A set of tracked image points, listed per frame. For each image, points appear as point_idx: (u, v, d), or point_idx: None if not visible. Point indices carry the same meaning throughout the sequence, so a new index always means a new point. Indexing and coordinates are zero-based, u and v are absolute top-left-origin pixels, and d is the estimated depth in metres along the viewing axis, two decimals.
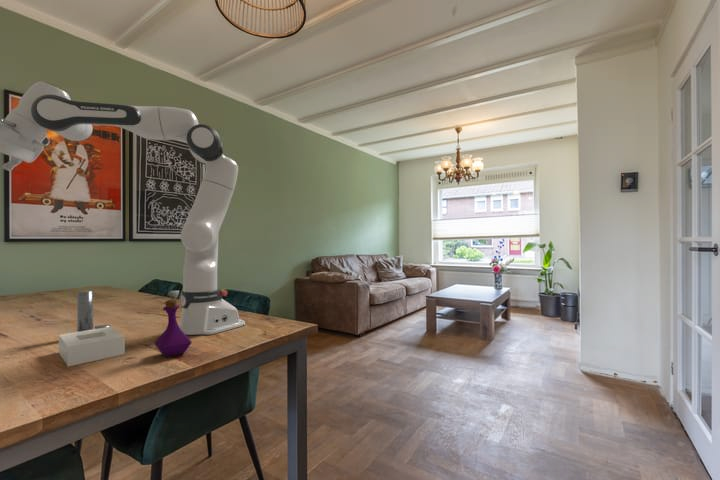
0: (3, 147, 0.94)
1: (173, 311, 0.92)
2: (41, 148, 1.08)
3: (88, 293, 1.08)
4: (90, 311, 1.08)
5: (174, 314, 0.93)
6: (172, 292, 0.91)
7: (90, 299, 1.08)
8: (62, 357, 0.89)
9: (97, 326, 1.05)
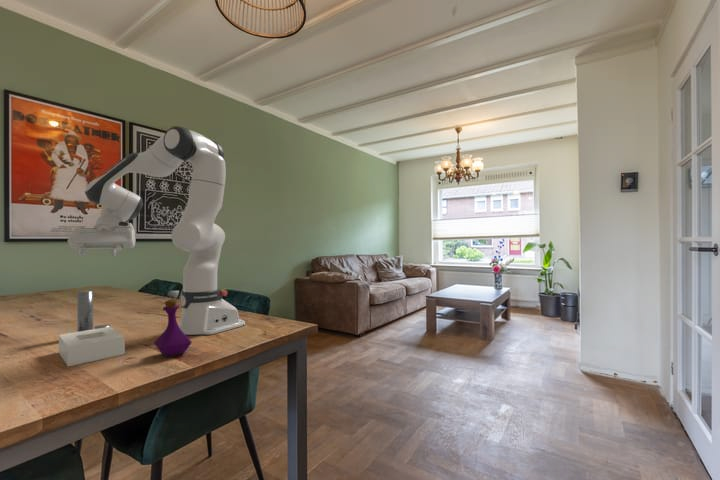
0: (82, 238, 1.20)
1: (173, 311, 0.92)
2: (128, 230, 1.27)
3: (88, 293, 1.08)
4: (90, 311, 1.08)
5: (174, 314, 0.93)
6: (172, 292, 0.91)
7: (90, 299, 1.08)
8: (62, 357, 0.89)
9: (97, 326, 1.05)
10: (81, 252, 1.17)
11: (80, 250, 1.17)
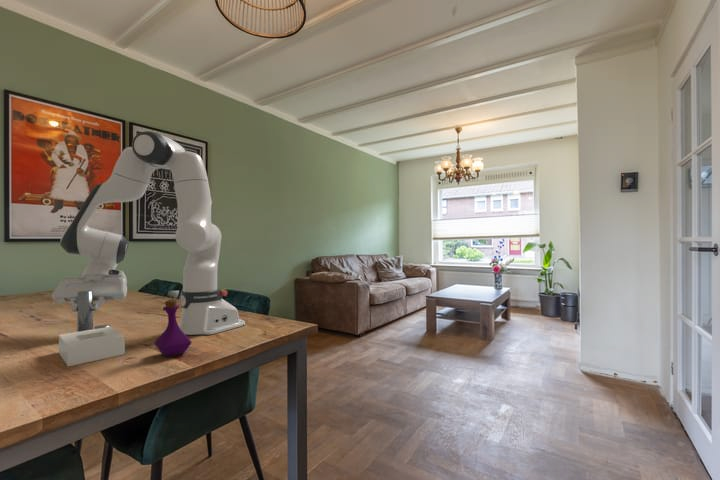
0: (68, 292, 1.09)
1: (173, 311, 0.92)
2: (119, 279, 1.16)
3: (88, 293, 1.08)
4: (90, 311, 1.08)
5: (174, 314, 0.93)
6: (172, 292, 0.91)
7: (90, 299, 1.08)
8: (62, 357, 0.89)
9: (97, 326, 1.05)
10: (74, 308, 1.07)
11: (73, 305, 1.07)
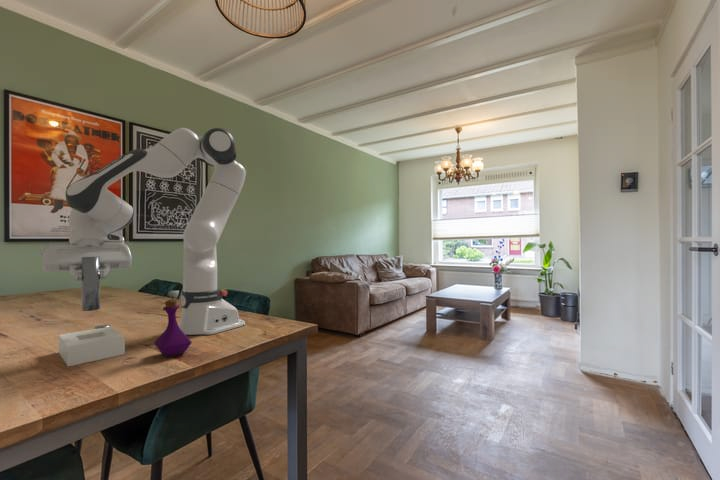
0: (64, 258, 0.91)
1: (173, 311, 0.92)
2: (122, 245, 1.02)
3: (97, 258, 0.93)
4: (98, 279, 0.94)
5: (174, 314, 0.93)
6: (172, 292, 0.91)
7: (99, 265, 0.94)
8: (62, 357, 0.89)
9: (97, 326, 1.05)
10: (79, 276, 0.91)
11: (76, 273, 0.91)
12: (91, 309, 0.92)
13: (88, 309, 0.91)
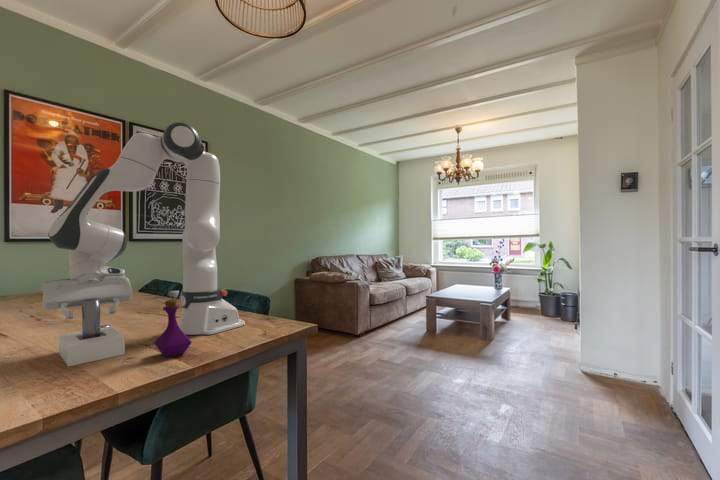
0: (64, 295, 0.91)
1: (173, 311, 0.92)
2: (122, 278, 1.02)
3: (97, 302, 0.92)
4: (99, 322, 0.93)
5: (174, 314, 0.93)
6: (172, 292, 0.91)
7: (99, 309, 0.93)
8: (62, 357, 0.89)
9: None
10: (70, 314, 0.89)
11: (67, 312, 0.89)
12: None
13: None
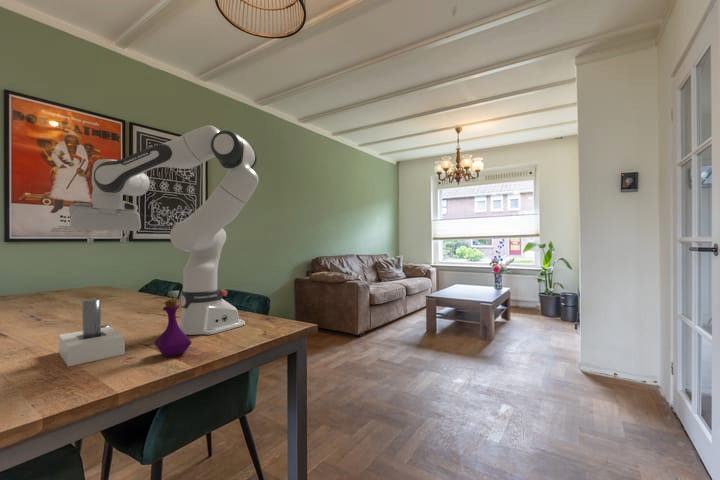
0: (88, 224, 1.12)
1: (173, 311, 0.92)
2: (135, 214, 1.22)
3: (98, 302, 0.93)
4: (99, 323, 0.93)
5: (174, 314, 0.93)
6: (172, 292, 0.91)
7: (99, 309, 0.93)
8: (62, 357, 0.89)
9: None
10: (91, 241, 1.14)
11: (89, 239, 1.13)
12: None
13: None
